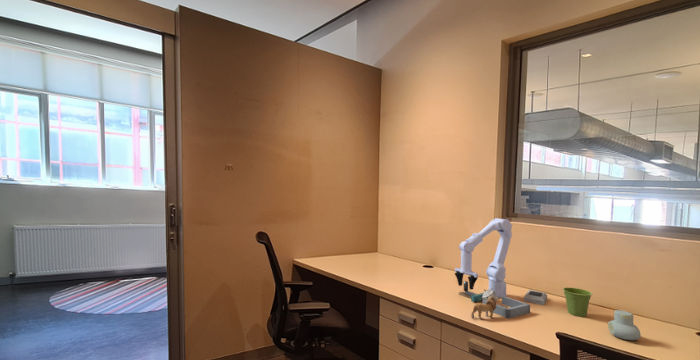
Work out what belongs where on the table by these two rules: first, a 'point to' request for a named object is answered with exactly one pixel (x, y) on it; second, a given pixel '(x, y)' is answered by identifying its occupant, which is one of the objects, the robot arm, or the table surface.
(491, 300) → the lion figurine
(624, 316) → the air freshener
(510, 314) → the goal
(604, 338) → the table surface
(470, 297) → the rail
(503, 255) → the robot arm
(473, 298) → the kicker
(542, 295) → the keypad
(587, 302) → the plant pot
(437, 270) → the table surface
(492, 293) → the grey rock
